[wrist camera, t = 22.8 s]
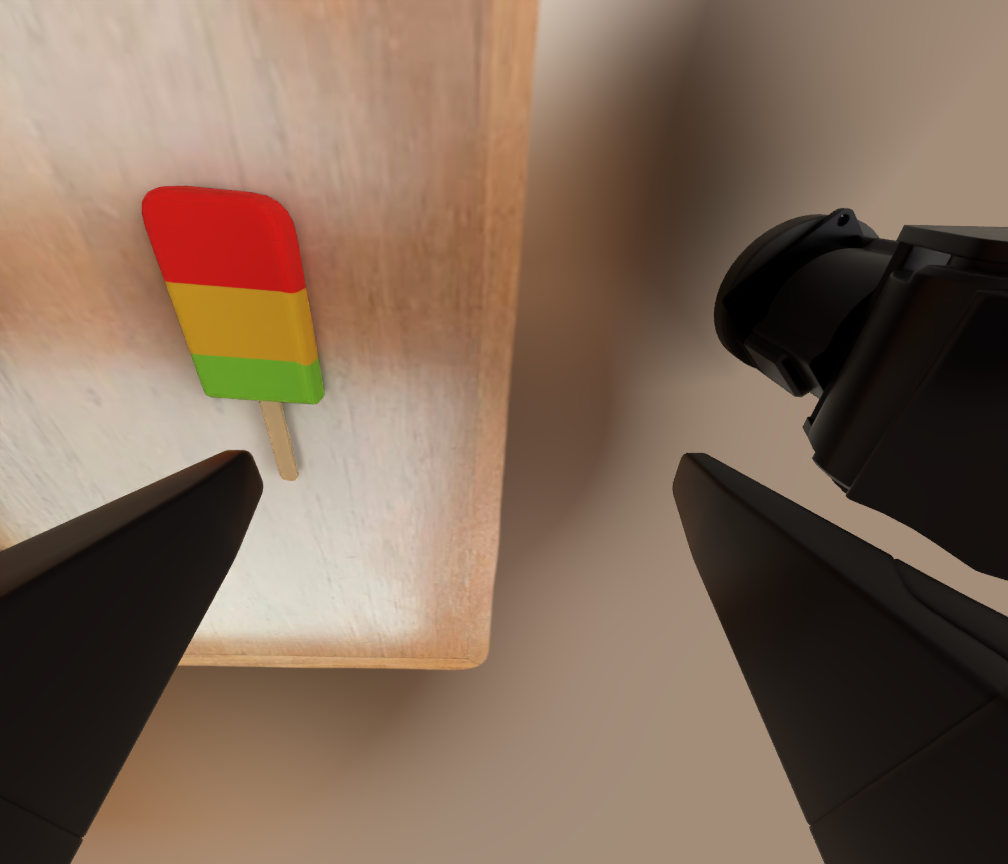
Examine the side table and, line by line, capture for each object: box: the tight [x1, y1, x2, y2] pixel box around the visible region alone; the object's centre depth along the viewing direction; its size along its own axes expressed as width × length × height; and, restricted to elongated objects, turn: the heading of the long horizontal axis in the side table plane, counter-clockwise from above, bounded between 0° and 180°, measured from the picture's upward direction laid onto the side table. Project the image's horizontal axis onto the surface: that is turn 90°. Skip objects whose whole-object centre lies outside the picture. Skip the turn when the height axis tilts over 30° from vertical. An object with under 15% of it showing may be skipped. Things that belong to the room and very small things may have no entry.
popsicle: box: [142, 186, 325, 481], centre depth 20 cm, size 6×15×2 cm, turn 175°
